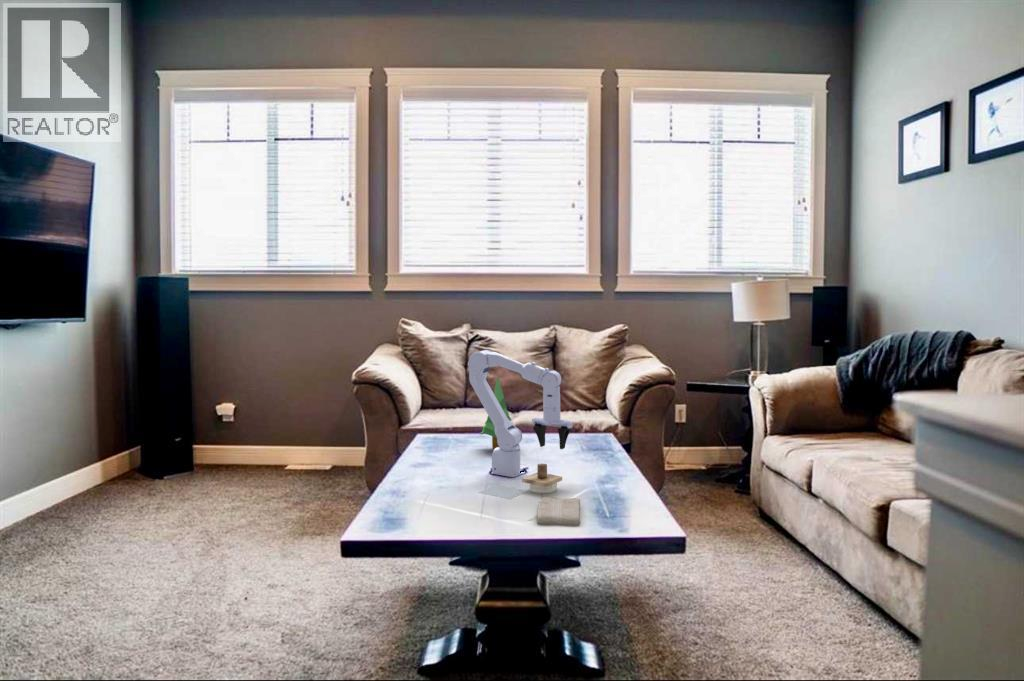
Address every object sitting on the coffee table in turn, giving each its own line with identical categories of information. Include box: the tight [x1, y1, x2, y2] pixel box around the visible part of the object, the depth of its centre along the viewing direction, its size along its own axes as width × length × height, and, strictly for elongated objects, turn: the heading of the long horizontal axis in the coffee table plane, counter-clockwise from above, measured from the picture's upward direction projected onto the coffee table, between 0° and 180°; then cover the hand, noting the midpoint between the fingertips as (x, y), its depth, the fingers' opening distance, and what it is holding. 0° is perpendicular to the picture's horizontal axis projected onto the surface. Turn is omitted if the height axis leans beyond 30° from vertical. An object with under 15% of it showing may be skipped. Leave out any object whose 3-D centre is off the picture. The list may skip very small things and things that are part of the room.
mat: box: [478, 484, 529, 500], centre depth 198 cm, size 12×10×1 cm
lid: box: [521, 463, 563, 487], centre depth 200 cm, size 9×9×5 cm
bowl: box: [529, 482, 558, 494], centre depth 201 cm, size 8×8×3 cm
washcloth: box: [536, 496, 581, 526], centre depth 180 cm, size 12×18×3 cm, turn 175°
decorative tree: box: [479, 375, 512, 451], centre depth 255 cm, size 14×16×30 cm
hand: (552, 447), depth 215 cm, fingers open, 7 cm apart
